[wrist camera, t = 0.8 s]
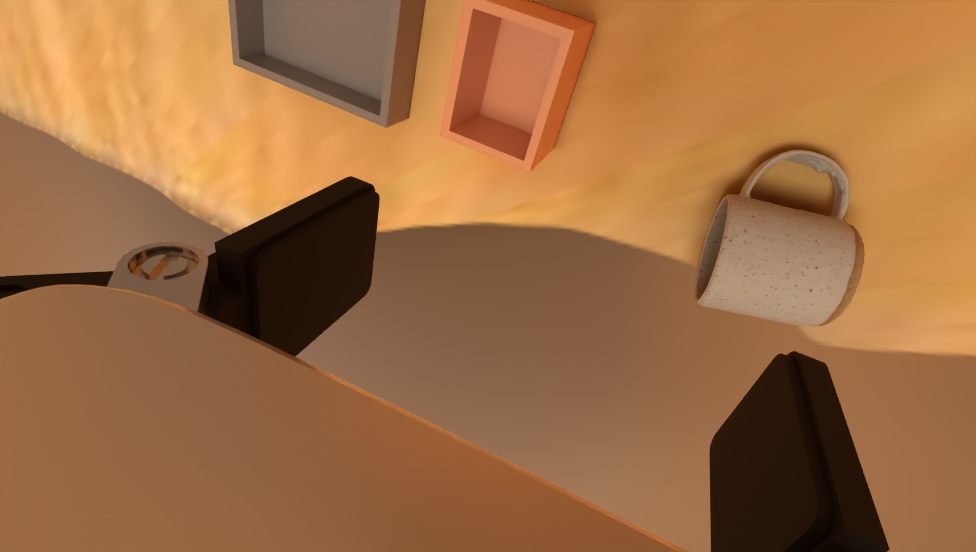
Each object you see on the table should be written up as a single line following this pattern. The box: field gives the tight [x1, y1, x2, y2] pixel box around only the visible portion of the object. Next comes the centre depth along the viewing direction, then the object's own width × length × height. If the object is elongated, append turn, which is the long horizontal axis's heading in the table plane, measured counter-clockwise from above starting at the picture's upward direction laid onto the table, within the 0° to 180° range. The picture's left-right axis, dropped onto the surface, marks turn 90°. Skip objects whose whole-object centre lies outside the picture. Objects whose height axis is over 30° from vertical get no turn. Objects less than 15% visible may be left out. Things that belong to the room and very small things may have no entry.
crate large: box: [228, 0, 425, 128], centre depth 37 cm, size 13×15×4 cm
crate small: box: [440, 0, 596, 172], centre depth 33 cm, size 9×7×6 cm
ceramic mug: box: [695, 149, 864, 326], centre depth 31 cm, size 11×8×8 cm
